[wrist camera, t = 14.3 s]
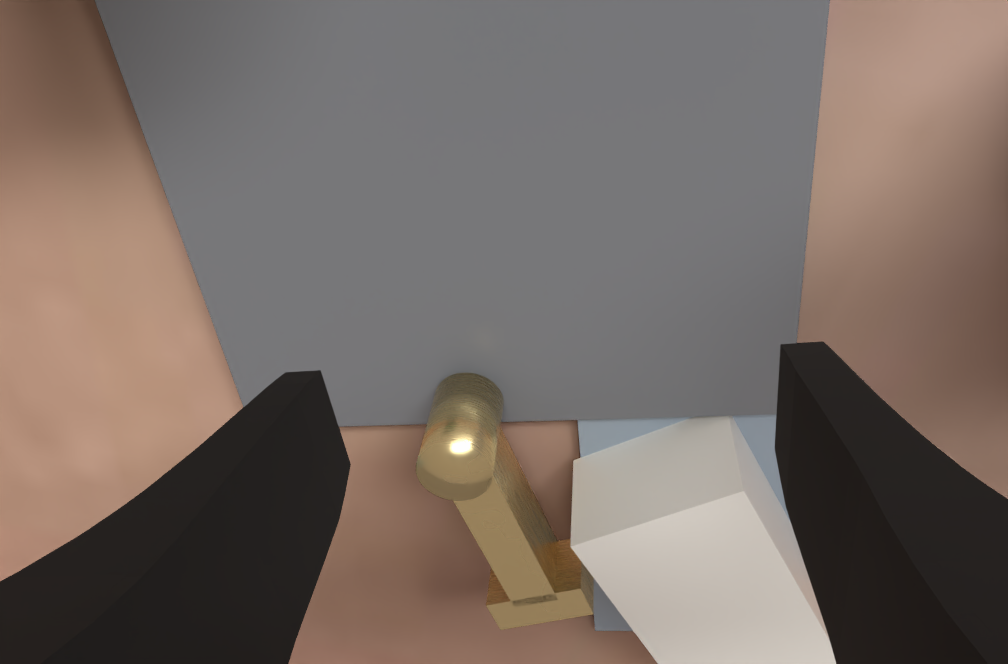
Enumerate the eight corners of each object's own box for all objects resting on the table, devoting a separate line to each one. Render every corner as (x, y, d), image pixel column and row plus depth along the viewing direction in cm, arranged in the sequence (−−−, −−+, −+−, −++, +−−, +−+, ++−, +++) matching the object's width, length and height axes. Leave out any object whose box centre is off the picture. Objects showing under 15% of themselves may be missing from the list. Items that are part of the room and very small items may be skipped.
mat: (852, 403, 24) (856, 412, 24) (820, 622, 29) (822, 632, 29) (577, 411, 25) (577, 420, 25) (595, 621, 30) (595, 630, 30)
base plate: (833, -168, 16) (845, -164, 15) (783, 392, 24) (789, 413, 23) (92, -75, 19) (69, -69, 18) (262, 408, 26) (251, 429, 25)
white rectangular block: (726, 404, 24) (744, 491, 21) (828, 591, 28) (855, 686, 25) (573, 460, 26) (570, 546, 23) (690, 628, 30) (700, 720, 27)
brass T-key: (407, 386, 24) (385, 457, 21) (504, 360, 23) (493, 431, 20) (507, 566, 27) (499, 644, 25) (593, 549, 27) (593, 628, 24)
